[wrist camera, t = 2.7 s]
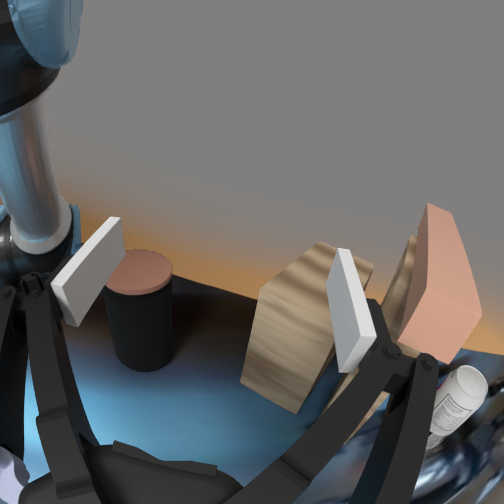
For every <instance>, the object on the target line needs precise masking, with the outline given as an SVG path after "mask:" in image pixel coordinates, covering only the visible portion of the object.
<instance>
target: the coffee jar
mask: <svg viewBox="0 0 504 504" xmlns="http://www.w3.org/2000/svg"><path fill="white" fill-rule="evenodd" d="M125 253H126V255H125V256H124V258H123V259H122V261H121V262H120V263H119V265H118V266H117V268H116V269H115V271H114V272H113V273H112V275H111V276H110V278H109V279H108V281H107V282H106V284H105V285H104V287H103V293H104V299H105V305H106V310H107V315H108V320H109V325H110V330H111V334H112V339H113V343H114V348H115V351H116V355H117V357H118V359H119V360H120V361H121V363H122V364H124V365H125V366H127V367H128V368H130V369H132V370H136V371H139V372H150V371H154V370H157V369H159V368H161V367H162V366H164V365H165V364H166V363H167V362H168V361H169V360H170V358H171V356H172V353H173V327H172V279H171V277H172V265H171V263H170V261H169V260H168V259H167V258H166V257H164V256H163V255H161V254H159V253H156V252H154V251H148V250H127V251H125Z"/></svg>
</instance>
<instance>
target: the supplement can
mask: <svg viewBox="0 0 504 504" xmlns="http://www.w3.org/2000/svg"><path fill="white" fill-rule="evenodd" d="M487 391H488V385H487V382H486V379H485V378H484V376H483V375H482V374H481V373H480V372H479V371H478V370H477V369H475V368H474V367H471V366H468V365H464V366H461V367H459V368H458V369H455V370H454V371H452V372H451V373H450V374H449V375H448V377H447V378H446V379H445V380H444V381H443V383H442V384H441V385H440V386H439V387H438V389H437V391H436V398H435V405H434V411H433V416H432V422H431V427H430V432H429V437H428V441H427V445H426V449H431V448H434V447H435V446H437V445H438V444H439V443H440V442H442V441H443V440H444V439H445V438H446V437H448V436H449V435H450V434H451V433H452V432H453V431H454V430H456V429H457V428H458V427H459V426H460V425H461V424H462V423H463V422H464V421H465V420H466V419H468V418H469V417H470V416H471V415H472V414H473V413H474V412H475V411H476V410H477V409H478V408H479V407H480V406H481V405H482V404H483V402H484V399H485V396H486V394H487Z"/></svg>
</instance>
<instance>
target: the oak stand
mask: <svg viewBox="0 0 504 504" xmlns="http://www.w3.org/2000/svg"><path fill="white" fill-rule="evenodd" d="M416 244H417V237H416V236H414V235H410V238H409V241H408V243H407V246H406V248H405V251H404V253H403V256H402V258H401V261H400V263H399V265H398V268H397V270H396V273H395V275H394V277H393V280H392V282H391V284H390V286H389V289H388V291H387V293H386V295H385V297H384V300H383V302H382V304H381V309H382V312H383V315H384V318H385V321H386V324H387V327H388V330H389V334H390V337H391V340H392V342H393V343H395V344H396V345H398V346H399V347H400V349H401V351H402V354H404V355H407V356H410V357H413V358H417V356H418V355H419V353H420V351H417V350H415V349H413V348H411V347H409V346H406V345H404V344H402V343H400V342H398V337H399V333H400V329H401V325H402V321H403V317H404V312H405V308H406V303H407V298H408V293H409V288H410V283H411V277H412V271H413V265H414V259H415V252H416ZM336 251H337V248H335V247H332V246H330V245H327V244H325V243H323V242H320V241H319V242H318V243H317V244H315V245H314V246H313V247H311V248H310V249H309V250H308V251H307V252H305V253H304V254H303V255H301V256H300V257H299V258H298V259H297V260H295V261H294V262H293V263H292V264H290V265H289V266H288V267H287V268H285V269H284V270H283V271H281V272H280V273H279V274H278V275H276V276H275V277H274V278H273V279H271V280H270V281H269V282H268V283H266V284H265V285H264V286H262V287H261V289H260V294H259V298H258V303H257V308H256V312H255V317H254V321H253V326H252V330H251V335H250V339H249V344H248V348H247V353H246V357H245V362H244V366H243V371H242V375H241V379H240V383H242V384H244V385H245V386H247V387H248V388H250V389H252V390H253V391H255V392H257V393H258V394H260V395H262V396H263V397H265V398H267V399H268V400H270V401H272V402H274V403H275V404H277V405H279V406H281V407H282V408H284V409H286V410H288V411H290V412H291V413H293V414H295V415H296V414H297V413H298V411H299V410H300V408H301V407H302V405H303V404H304V402H305V401H306V399H307V398H308V396H309V395H310V393H311V392H312V390H313V389H314V387H315V385H316V384H317V382H318V381H319V379H320V378H321V376H322V374H323V373H324V371H325V369H326V368H327V366H328V364H329V363H330V361H331V359H332V358H333V356H334V354H335V353H336V346H335V339H334V333H333V326H332V320H331V314H330V308H329V302H328V296H327V290H326V285H325V284H326V281H327V278H328V275H329V272H330V269H331V266H332V263H333V260H334V257H335V254H336ZM352 258H353V261H354V264H355V267H356V270H357V273H358V276H359V279H360V282H361V285H362V288H363V291H365V289H366V286H367V284H368V281H369V279H370V276H371V274H372V271H373V269H374V266H375V265H374V264H372V263H370V262H367V261H365V260H362V259H360V258H358V257H356V256H353V255H352ZM358 372H359V368H358V367H357V369H356V370H355V371H354V373H344V375H343V376H342V378H341V380H340V381H339V383H338V385H337V387H336V388H335V390H334V392H333V394H332V396H331V397H330V399H329V401H328V403H327V405H326V406H325V408H324V410H323V411H322V413H321V415H322V414H323V413H324V412H325V411H326V410H327V409H328V408H329V407H330V405H331V404H332V403H333V402H334V401H335V400H336V398H337V397H338V396H339V395H340V394H341V393H342V391H343V390H344V389H345V388H346V387H347V385H348V384H349V383H350V382H351V380H352V379H353V378H354V377H355V375H356V374H357V373H358ZM389 394H390V393H387V392H383V391H382V392H381V394H380V395H379V397H378V398H377V400H376V401H375V403H374V404H373V406H372V407H371V408H370V410H369V411H368V413H367V414H366V415H365V417H364V418H363V420H362V421H361V422H360V424H359V425H358V426H357V428H356V429H355V430H354V432H353V433H352V434H351V435H350V437H349V438H348V439H347V440H346V442H347V441H348V440H349V439H350V438H351V437H352V436H353V435H354V434H355V433H356V432H357V431H358V430H359V429H360V427H361V426H362V425H363V424H364V423H365V422H366V421H367V420H368V419H369V418H370V416H371V415H372V414H373V413H374V412H375V411H376V410H377V408H378V407H379V406H380V405H381V404H382V402H383V401H384V400H385V399H386V398H387V396H388V395H389ZM321 415H320V416H321ZM320 416H319V418H320ZM319 418H318V419H319ZM346 442H345V443H346ZM345 443H344V444H345Z"/></svg>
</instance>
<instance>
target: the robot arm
mask: <svg viewBox="0 0 504 504" xmlns="http://www.w3.org/2000/svg"><path fill="white" fill-rule="evenodd" d="M82 9H83V0H0V197H1V199H2V201H3V203H4V205H5V206H4V205H0V498H1V499H2V500H4V501H6V502H7V503H9V504H291V503H292V502H293V501H294V500H295V499H296V498H297V497H298V496H299V495H300V494H301V493H302V492H303V491H304V490H305V489H306V488H307V487H308V486H309V485H310V483H311V482H312V480H313V479H314V477H315V476H316V475H317V474H318V473H319V472H320V471H321V470H322V469H323V468H324V467H325V465H326V464H327V463H328V462H329V461H330V460H331V459H332V457H333V456H334V455H335V454H336V453H337V451H338V450H339V449H340V448H341V447H342V445H343V444H344V443H345V442H346V440H347V439H348V438H349V437H350V435H351V434H352V433H353V432H354V430H355V429H356V428H357V426H358V425H359V424H360V422H361V421H362V420H363V418H364V417H365V415H366V414H367V413H368V411H369V410H370V408H371V407H372V406H373V404H374V403H375V401H376V400H377V398H378V397H379V395H380V394H381V392H382V391H383V392H387V393H390V397H389V400H388V404H387V407H386V410H385V413H384V416H383V420H382V423H381V426H380V428H379V431H378V434H377V437H376V440H375V443H374V445H373V448H372V450H371V453H370V456H369V458H368V461H367V463H366V465H365V468H364V470H363V473H362V475H361V477H360V479H359V482H358V484H357V486H356V488H355V490H354V492H353V495H352V497H351V499H350V501H349V503H348V504H409V502H410V500H411V497H412V494H413V491H414V488H415V485H416V482H417V479H418V475H419V472H420V468H421V465H422V461H423V457H424V454H425V449H426V445H427V441H428V437H429V432H430V427H431V422H432V416H433V411H434V405H435V398H436V391H437V383H438V374H439V364H438V362H437V360H436V359H435V358H434V356H432V355H430V354H428V353H421V354H420V355H419V356H418V357H417V358H413V357H410V356H407V355H404V354H402V351H401V349H400V347H399V346H398V345H396V344H395V343H393V342H392V340H391V337H390V334H389V330H388V327H387V324H386V321H385V318H384V315H383V312H382V309H381V306H380V305H379V304H378V302H377V301H376V300H375V299H368V298H365V295H364V291H363V288H362V285H361V282H360V279H359V276H358V273H357V270H356V267H355V264H354V261H353V258H352V255H351V252H350V250H348V249H341V248H337V251H336V254H335V257H334V260H333V263H332V266H331V269H330V272H329V275H328V278H327V281H326V284H325V285H326V290H327V296H328V302H329V308H330V314H331V320H332V326H333V333H334V339H335V346H336V353H337V361H338V368H339V372H342V373H354V371H355V370H356V369H357V367H358V368H359V372H358V373H357V374H356V375H355V377H354V378H353V379H352V380H351V382H350V383H349V384H348V385H347V387H346V388H345V389H344V390H343V391H342V393H341V394H340V395H339V396H338V397H337V398H336V400H335V401H334V402H333V403H332V404H331V405H330V407H329V408H328V409H327V410H326V411H325V412H324V413H323V414H322V415H321V416H320V418H319V419H318V420H317V421H316V422H315V423H314V424H313V425H312V426H311V427H310V428H309V429H308V430H307V431H306V432H305V433H304V434H303V435H302V436H301V437H300V438H299V439H298V440H297V441H296V442H295V443H294V444H293V445H292V446H291V447H290V448H289V449H288V450H287V451H286V452H285V453H284V454H283V455H282V456H281V457H279V458H278V459H277V460H276V461H274V462H273V463H272V464H271V465H270V466H269V467H268V468H266V469H265V470H264V471H263V472H262V473H261V474H260V475H258V476H257V477H256V478H255V479H254V480H252V481H251V482H250V483H249V484H247V485H246V486H245V487H244V488H243V486H242V485H241V484H240V483H239V482H238V481H236V480H235V479H234V478H232V477H231V476H229V475H228V474H226V473H224V472H222V471H219V470H217V465H211V464H205V463H199V462H194V461H162V460H159V459H157V458H155V457H154V456H152V455H150V454H148V453H146V452H144V451H143V450H141V449H139V448H137V447H134V446H131V445H127V444H124V443H121V442H118V441H115V440H114V442H113V445H101V446H100V444H99V442H98V440H97V439H96V437H95V436H94V434H93V432H92V429H91V427H90V424H89V422H88V419H87V416H86V413H85V410H84V407H83V404H82V401H81V398H80V395H79V392H78V389H77V385H76V382H75V378H74V375H73V371H72V367H71V364H70V360H69V355H68V351H67V347H66V342H65V338H64V333H63V328H62V324H61V322H60V320H61V319H62V317H63V316H64V318H65V321H66V323H67V324H70V325H73V326H76V327H78V326H79V324H80V323H81V321H82V319H83V318H84V316H85V315H86V313H87V311H88V310H89V308H90V307H91V305H92V304H93V302H94V300H95V299H96V297H97V296H98V294H99V293H100V291H101V290H102V288H103V287H104V285H105V284H106V282H107V281H108V279H109V278H110V276H111V275H112V273H113V272H114V271H115V269H116V268H117V266H118V265H119V263H120V262H121V261H122V259H123V258H124V256H125V255H126V253H125V247H124V240H123V232H122V224H121V218H117V217H110V218H109V219H108V220H107V221H106V222H105V223H104V224H103V225H102V226H101V227H100V228H99V229H98V230H97V231H96V232H95V233H94V234H93V235H92V236H91V238H90V239H89V240H88V241H87V242H86V243H85V244H84V245H83V246H82V247H81V229H80V228H81V226H80V211H79V208H78V206H77V205H72V204H68V203H67V201H66V200H65V199H64V198H63V197H62V196H61V195H60V194H58V190H57V186H56V180H55V174H54V168H53V161H52V155H51V147H50V139H49V129H48V119H47V103H46V102H47V101H46V92H47V91H48V90H49V89H50V88H51V86H52V85H53V84H54V83H55V81H56V80H57V78H58V76H59V73H60V67H61V66H63V65H65V64H67V63H69V62H70V61H71V60H72V59H73V57H74V54H75V52H76V48H77V44H78V38H79V32H80V18H81V15H82ZM7 213H9V214H7ZM51 271H53V272H52V274H51V275H50V276H49V277H48V278H47V280H46V281H45V282H44V281H43V278H42V275H41V274H40V273H44V272H51ZM23 275H25V276H24V277H23V278H21V276H23ZM28 353H29V359H30V366H31V373H32V380H33V386H34V391H35V396H36V401H37V406H38V411H39V416H37V417H36V425H37V429H38V433H39V437H40V440H41V444H42V447H43V451H44V454H45V457H46V460H47V463H48V466H49V469H50V472H49V473H47V474H45V475H44V476H42V477H40V478H38V479H36V480H34V481H32V482H31V483H28V480H29V478H30V474H29V472H28V470H26V466H25V464H24V462H23V458H24V397H25V381H26V370H27V361H28Z"/></svg>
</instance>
